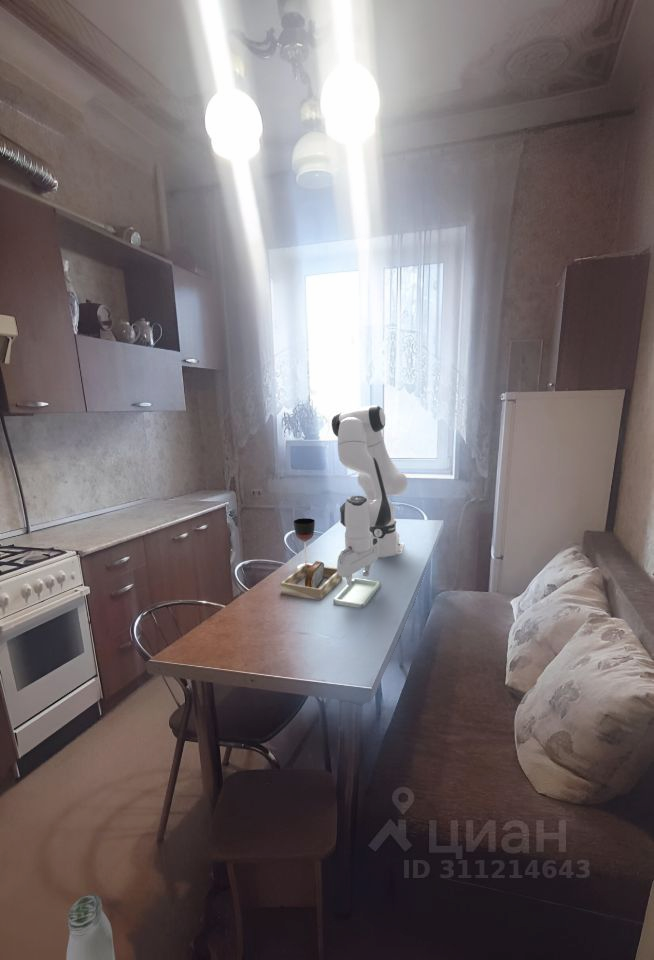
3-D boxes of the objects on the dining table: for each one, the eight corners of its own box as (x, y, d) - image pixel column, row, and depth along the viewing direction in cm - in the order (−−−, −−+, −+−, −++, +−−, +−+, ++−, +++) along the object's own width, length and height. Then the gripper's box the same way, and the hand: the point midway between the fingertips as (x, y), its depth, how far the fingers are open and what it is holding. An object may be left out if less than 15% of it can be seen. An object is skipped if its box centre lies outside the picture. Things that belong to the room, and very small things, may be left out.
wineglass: (313, 571, 179) (312, 524, 175) (293, 569, 180) (291, 523, 177) (318, 563, 186) (316, 518, 183) (298, 562, 188) (296, 518, 184)
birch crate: (305, 573, 177) (305, 563, 176) (342, 578, 170) (342, 569, 170) (280, 593, 159) (280, 583, 158) (320, 600, 152) (320, 589, 152)
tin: (318, 577, 172) (317, 557, 171) (325, 578, 171) (325, 558, 170) (304, 593, 158) (303, 572, 157) (312, 595, 157) (311, 573, 156)
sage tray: (353, 583, 166) (353, 577, 166) (380, 587, 162) (380, 581, 161) (333, 605, 148) (333, 599, 148) (362, 611, 144) (362, 604, 144)
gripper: (347, 553, 142) (348, 593, 144) (381, 536, 157) (381, 572, 160) (331, 549, 146) (333, 588, 148) (366, 533, 161) (367, 569, 164)
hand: (358, 580), depth 154 cm, fingers open, 8 cm apart
